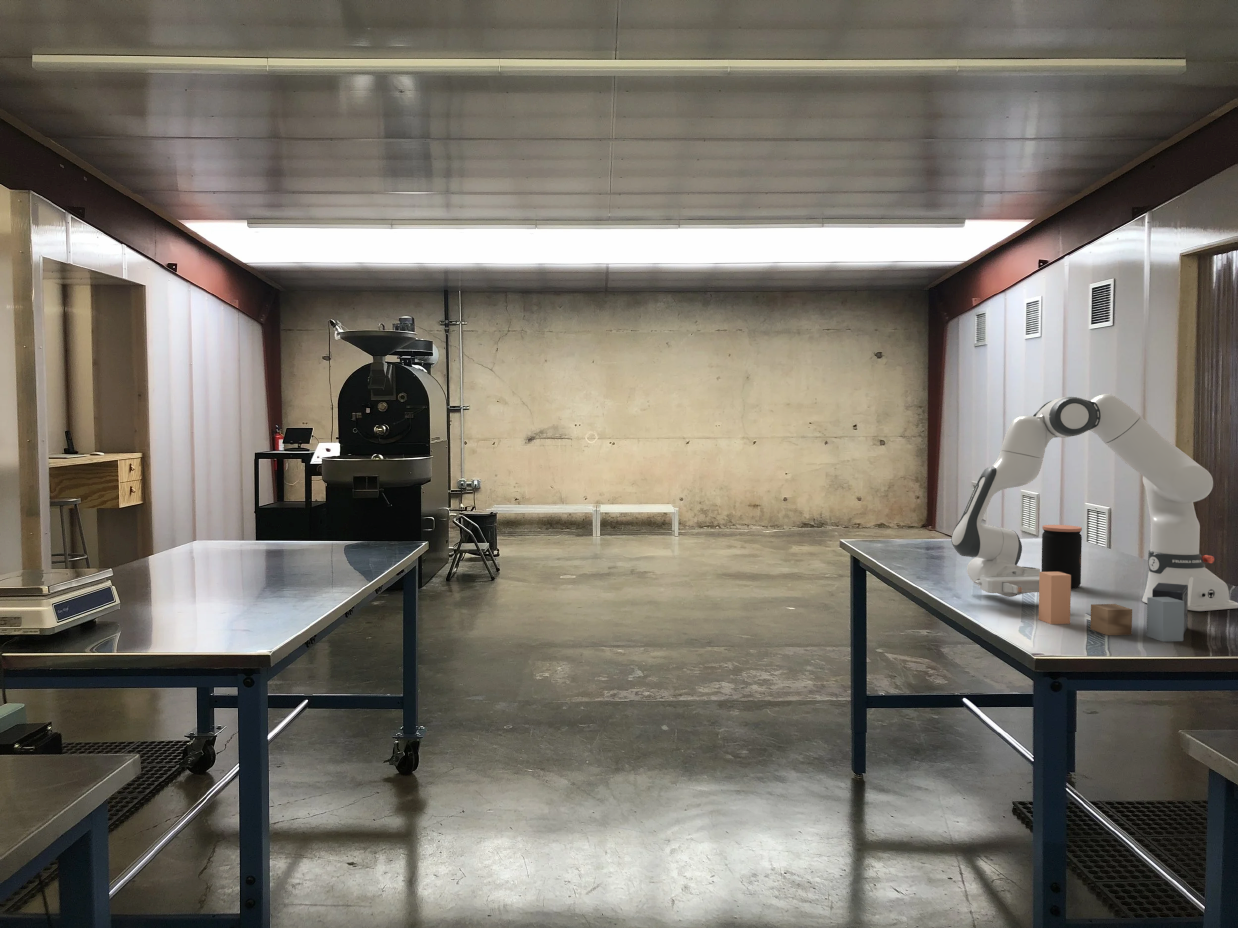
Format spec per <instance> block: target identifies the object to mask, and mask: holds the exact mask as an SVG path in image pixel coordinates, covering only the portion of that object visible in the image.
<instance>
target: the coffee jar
mask: <svg viewBox="0 0 1238 928" xmlns="http://www.w3.org/2000/svg"><path fill="white" fill-rule="evenodd" d="M1082 529H1083V528H1082V527H1081V526H1078V525H1077V526H1076V525H1070V524H1069V525H1068V524H1044V525H1042V530H1043V532H1042V534H1041V569H1040V571H1041V572H1062V573H1065V574H1069V575H1071V590H1072V589H1077V588H1079V587H1080V585H1081V583H1082V549H1083V548H1082V542H1083V541H1082V539H1083V537H1082V534H1081V532H1082Z"/></svg>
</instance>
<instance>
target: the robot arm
mask: <svg viewBox="0 0 1238 928" xmlns="http://www.w3.org/2000/svg"><path fill="white" fill-rule="evenodd" d="M1089 431H1090V432H1092V433H1094V435H1097V437H1098V438H1100V440H1101V441H1102V442H1103V443H1104V444H1105V445H1106V446H1107V447H1108V448H1109V449H1110V450H1111V451H1112V452H1113V453H1115V455H1117V456H1118V457H1119V458H1120V459H1121V460H1122V461H1123V462H1124V463H1125V464H1127V466H1129V467H1130V468H1132V469H1134V471H1136V472H1137V473H1139V474H1140V475H1141V476H1142V484H1143V485H1144V489H1145V493H1146V501H1147V508H1148V511H1149V518H1150V519H1149V520H1150V540H1149V542H1150V545H1149V546H1150V547H1149V550H1148V552H1147V553H1148V554H1147V555H1148V556H1147V564H1148V576H1147V580H1146V581H1147V582H1146V586H1145V590H1144V594H1143V597H1142V598H1141V601H1142V602H1143V603H1146V604H1147V597H1152V590H1153V588H1154V587H1155V586H1156V585H1157V584H1158V583H1170V584H1183V585H1188V606H1187V607H1188V611H1193V612H1205V611H1206V612H1207V611H1217V610H1218V611H1219V610H1228V609H1229V610H1231V609H1238V602H1237V601H1234V600H1232V599H1231V600H1230V592H1229V587H1228V585H1227V583H1226V582H1225V581H1224V580H1223V579H1221V578H1219V577H1218V576H1217V575H1215V574H1214V573H1213V572H1212V571H1210V570H1209V569H1208V568H1206V564H1205V563H1208V564H1213V563H1214V561H1215V557H1214V556H1212V555H1208V554H1205V555H1202V554H1201V552H1200V541H1201V539H1200V535H1201V534H1200V533H1201V531H1200V530H1201V525H1200V522H1199V520H1198V518H1197V514H1196V510H1195V506H1194V503H1196V502H1199V501H1202V500H1204V499H1206V498H1207V497H1208V495H1210V493H1211V492H1212V490H1213V488H1214V479H1213V476H1212V474H1211V473H1210V472H1209V470H1208V469H1206V468H1205V467H1203V466H1202V465H1201V464H1199V463H1198V462H1196V461H1195V460H1194V459H1193V458H1191V457H1190V456H1189V455H1188V454H1187V453H1186V452H1184V451H1182V450H1181V449H1180V448H1178V447H1177V446H1176V445H1174V444H1173V443H1171V442H1170V441H1169V440H1168V439H1166V438H1165V437H1164V436H1163V435H1162V434H1160V433H1159V432H1158V431H1157V429H1155V428H1154V427H1153V426H1152V425H1151V424H1150V423H1149V422H1148V421H1146V420H1145V418H1143V417H1142V416H1141V415H1140V414H1139V413H1138V412H1137V411H1136V410H1134V409H1133V407H1131V406H1130V405H1128V404H1127V403H1126V402H1124V400H1122V399H1120V398H1118V397H1117V396H1116V395H1113V394H1112V393H1111V394H1110V393H1102V394H1100V395H1096V396H1094V397H1092V398H1091V399H1090V400H1089V399H1088V400H1087V399H1084V398H1080V397H1077V396H1066V397H1065V396H1063V397H1058V398H1055V399H1053V400H1050V401H1047V402H1046V403H1045V404H1043V405H1041V407H1040V408H1039V409H1038V410H1037V411H1036V412H1035V413H1034V414H1033V415H1028V414H1027V415H1020V416H1017V417H1015V418H1013V420H1011V423H1010V425H1009V426H1008V429H1007V430H1006V433H1005V435H1004V438H1003V441H1002V444H1001V448H1000V452H999V454H998V456H997V459H996V460H995V462H994V463H993V464H992V465H991V466H989V467H985V469H984V470H983V471H982V473H981V474H980V476H979V478H978V480H977V482H976V484H975V486H974V488H973V491H972V493H971V495H970V498H969V500H968V502H967V505H966V507H965V509H964V511H963V514H962V515H961V518H960V519H959V521H958V523H957V524H956V525H955V527H954V529H953V531H952V534H951V540H950V541H951V545H952V546H953V548H954V550H955V552H956V553H958V555H960V556H961V557H969V558H972V559H971V560H970V561H969V562H968V564H967V566H966V572H967V574H968V575H967V576H968V577H969V579H970V580H971V581H972V582H973V583H974V584H976V585H977V586H979V589H980V590H982V591H984V592H985V593H989V594H999V595H1000V596H1004V597H1006V598H1007V597H1008V598H1013V597H1016V596H1020V595H1024V594H1030V593H1039V572H1041V569H1040V568H1038V567H1030V566H1029V567H1028V566H1020V565H1018V563H1019V561H1020V560H1021V557H1022V552H1023V545H1022V541H1021V539H1020V537H1019V534H1018V533H1017V532H1016V531H1015V530H1013V529H1010V528H1004V527H1001V526H1000V527H999V526H994V525H989V524H985V523H984V524H983V523H982V521H983V518H984V517H985V516H984V515H985V513H986V511H987V509H988V507H989V504H990V503H991V500H992V498H993V496H995V494H997V493H999V492H1000V491H1003V490H1007V489H1012V488H1019V487H1022V486H1026V485H1028V484H1030V483H1031V482H1033V481H1034V480H1036V478H1037V477H1038V476H1039V474H1040V471H1041V468H1042V465H1043V461H1044V456H1045V452H1046V448H1047V447H1048V445H1049V443H1050V442H1051V440H1053V439H1054V438H1065V439H1066V438H1070V437H1077V436H1080V435H1082V434H1084V433H1086V432H1089Z"/></svg>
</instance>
